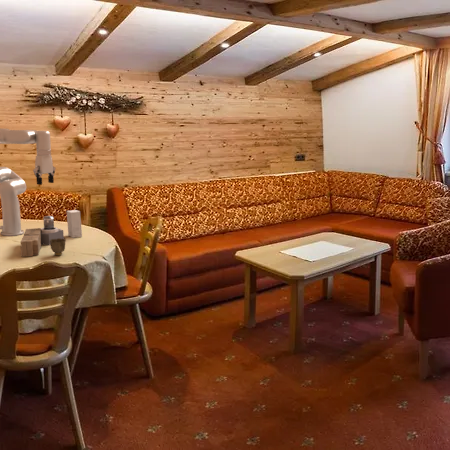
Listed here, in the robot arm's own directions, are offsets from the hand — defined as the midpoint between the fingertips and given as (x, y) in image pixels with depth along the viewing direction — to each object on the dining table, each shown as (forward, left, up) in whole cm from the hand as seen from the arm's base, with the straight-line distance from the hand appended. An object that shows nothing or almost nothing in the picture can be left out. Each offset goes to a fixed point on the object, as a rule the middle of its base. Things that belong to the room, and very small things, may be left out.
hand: (45, 183), depth 285 cm
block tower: (+14, -29, -30) cm, 44 cm away
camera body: (+11, -12, -30) cm, 34 cm away
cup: (+33, -33, -31) cm, 56 cm away
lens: (+11, -12, -24) cm, 29 cm away
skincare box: (+14, +6, -31) cm, 34 cm away
